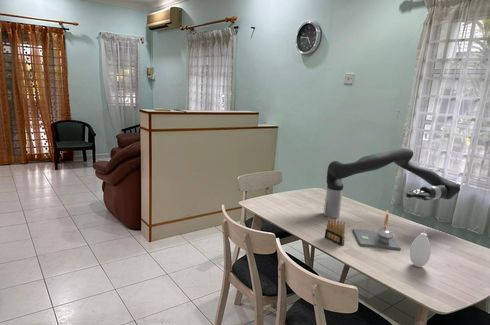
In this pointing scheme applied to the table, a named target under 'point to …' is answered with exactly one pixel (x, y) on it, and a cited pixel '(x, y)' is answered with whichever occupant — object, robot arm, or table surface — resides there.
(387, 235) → the twist collar
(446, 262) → the table surface
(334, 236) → the ammunition clip
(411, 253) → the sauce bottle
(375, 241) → the lock base
